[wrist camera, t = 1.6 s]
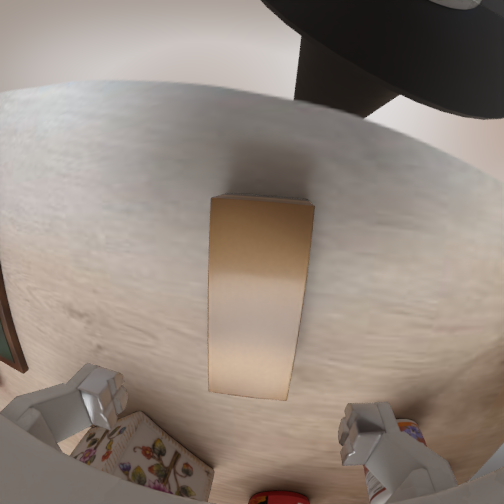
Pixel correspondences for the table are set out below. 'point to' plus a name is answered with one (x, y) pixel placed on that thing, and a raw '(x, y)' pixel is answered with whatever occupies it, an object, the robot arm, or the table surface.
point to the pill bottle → (375, 488)
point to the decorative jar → (145, 457)
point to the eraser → (256, 291)
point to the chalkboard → (9, 335)
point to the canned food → (278, 498)
